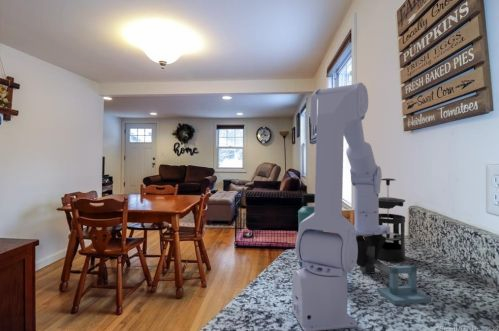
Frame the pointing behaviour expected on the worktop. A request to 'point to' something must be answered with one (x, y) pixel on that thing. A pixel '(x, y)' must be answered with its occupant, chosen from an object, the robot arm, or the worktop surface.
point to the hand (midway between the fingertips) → (366, 264)
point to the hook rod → (374, 263)
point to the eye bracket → (403, 287)
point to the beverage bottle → (306, 210)
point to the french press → (393, 249)
